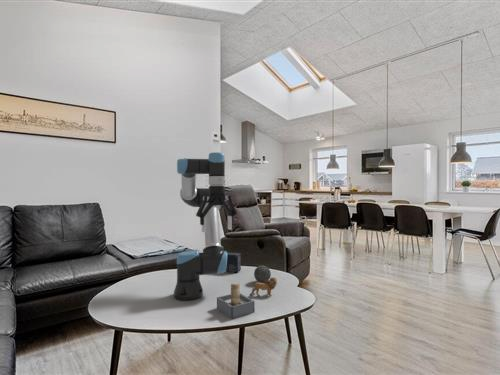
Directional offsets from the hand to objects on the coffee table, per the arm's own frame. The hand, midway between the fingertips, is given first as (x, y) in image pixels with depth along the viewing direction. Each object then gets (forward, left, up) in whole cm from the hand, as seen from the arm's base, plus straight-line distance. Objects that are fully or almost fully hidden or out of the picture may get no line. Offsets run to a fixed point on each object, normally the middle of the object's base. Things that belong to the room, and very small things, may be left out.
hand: (217, 230), depth 138 cm
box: (+6, +6, -37) cm, 38 cm away
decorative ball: (-19, +40, -37) cm, 57 cm away
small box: (-51, +36, -37) cm, 72 cm away
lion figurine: (-2, +29, -37) cm, 47 cm away
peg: (+6, +6, -37) cm, 38 cm away
